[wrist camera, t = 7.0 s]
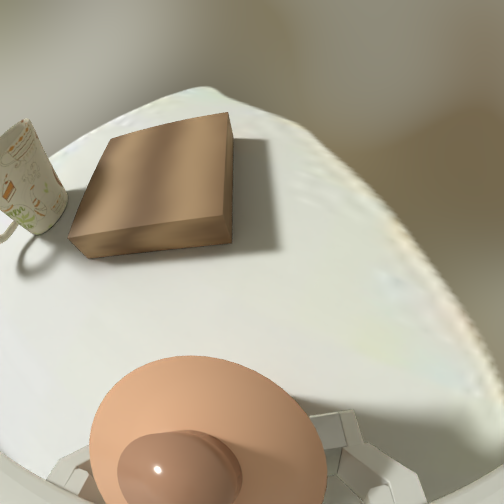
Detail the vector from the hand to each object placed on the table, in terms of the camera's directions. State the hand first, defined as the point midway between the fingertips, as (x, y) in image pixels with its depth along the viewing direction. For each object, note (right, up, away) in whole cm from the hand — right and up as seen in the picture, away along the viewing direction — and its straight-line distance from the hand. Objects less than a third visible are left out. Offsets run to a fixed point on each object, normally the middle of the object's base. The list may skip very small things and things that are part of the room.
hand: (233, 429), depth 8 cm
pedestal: (-7, +11, +14) cm, 19 cm away
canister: (+1, -3, +4) cm, 5 cm away
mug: (-23, +9, +15) cm, 29 cm away
